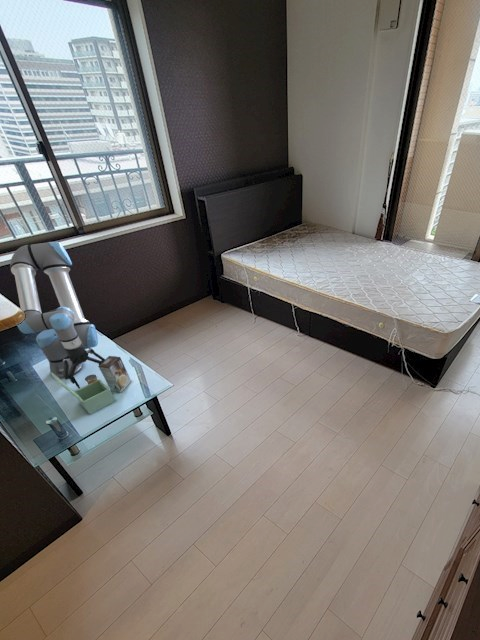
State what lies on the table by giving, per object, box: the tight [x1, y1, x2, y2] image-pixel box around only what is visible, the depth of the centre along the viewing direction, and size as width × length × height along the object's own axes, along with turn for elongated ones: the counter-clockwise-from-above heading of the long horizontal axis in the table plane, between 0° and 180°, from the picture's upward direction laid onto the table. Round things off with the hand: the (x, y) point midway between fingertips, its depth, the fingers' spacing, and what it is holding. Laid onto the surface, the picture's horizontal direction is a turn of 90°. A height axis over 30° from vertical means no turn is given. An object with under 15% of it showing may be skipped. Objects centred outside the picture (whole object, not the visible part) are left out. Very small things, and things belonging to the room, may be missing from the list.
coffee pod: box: [84, 374, 99, 385], centre depth 176 cm, size 6×6×6 cm
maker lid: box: [50, 372, 83, 402], centre depth 154 cm, size 13×11×1 cm
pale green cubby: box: [73, 379, 116, 415], centre depth 166 cm, size 13×11×8 cm
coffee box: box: [97, 355, 132, 393], centre depth 172 cm, size 9×6×16 cm
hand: (92, 380), depth 175 cm, fingers open, 13 cm apart
